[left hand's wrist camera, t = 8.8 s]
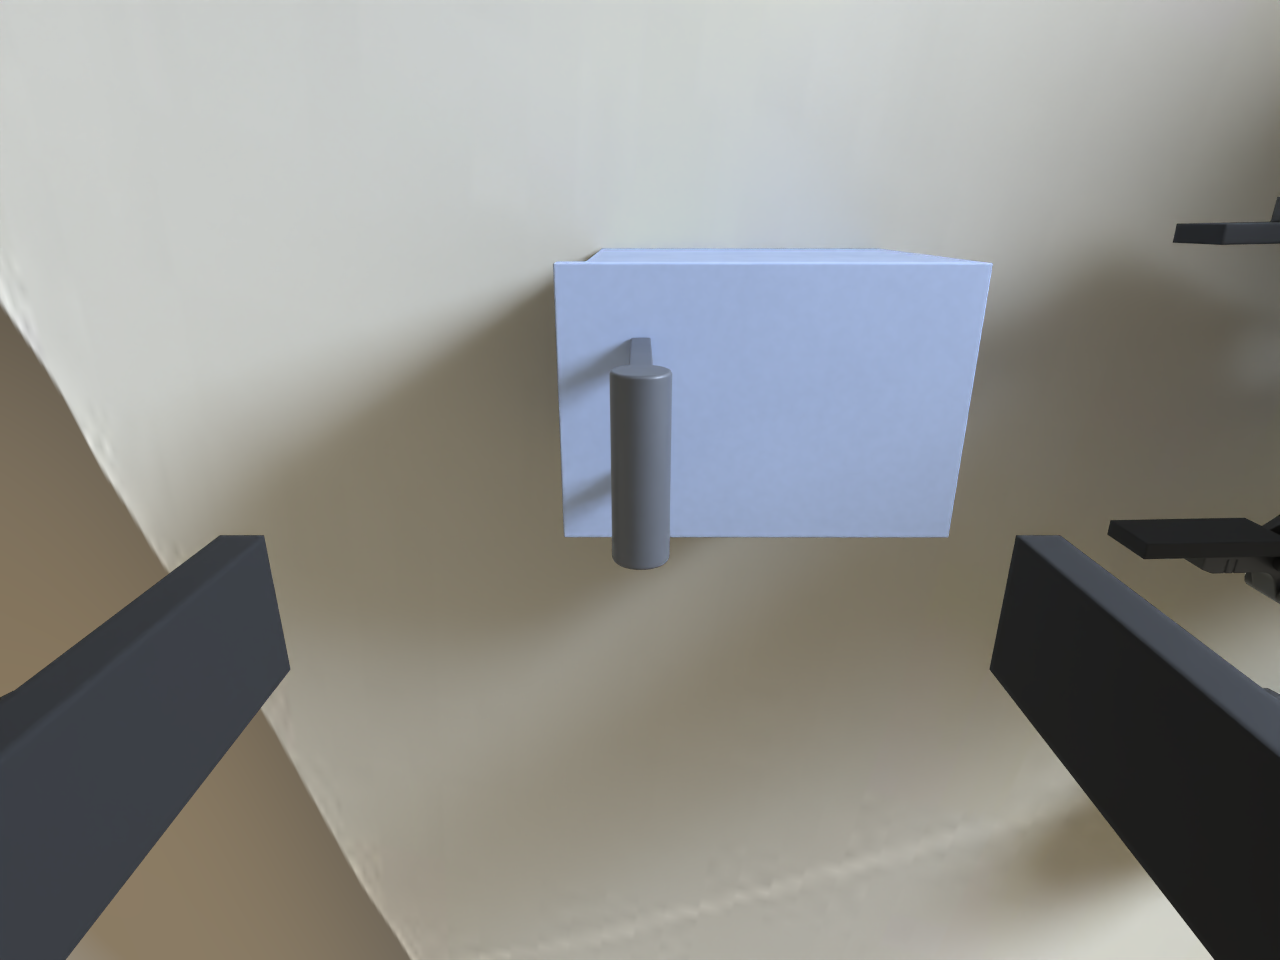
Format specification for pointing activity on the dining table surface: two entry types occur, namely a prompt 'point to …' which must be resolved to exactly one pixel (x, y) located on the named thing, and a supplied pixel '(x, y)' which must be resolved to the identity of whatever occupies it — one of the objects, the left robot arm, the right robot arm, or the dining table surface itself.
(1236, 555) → the right robot arm
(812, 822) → the dining table surface
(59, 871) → the left robot arm
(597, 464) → the lid
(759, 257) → the chest
